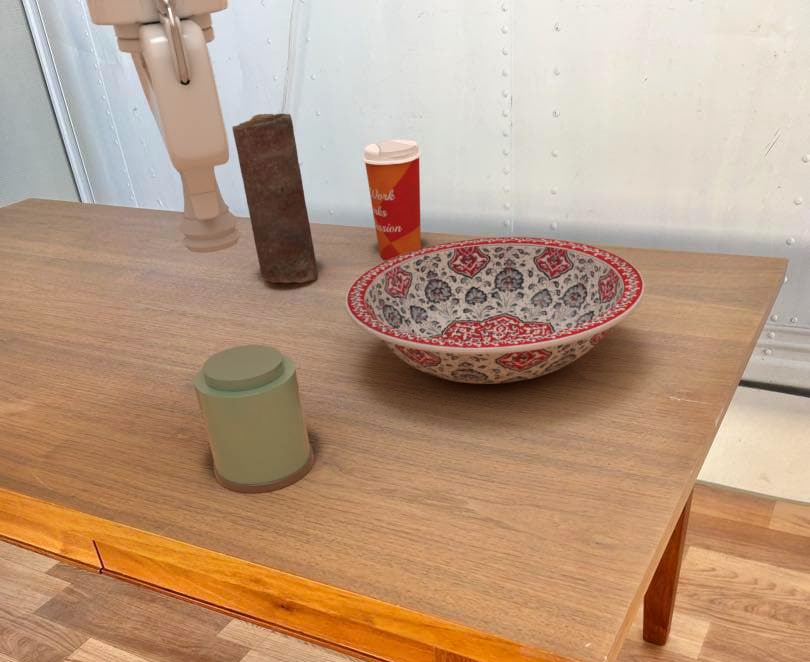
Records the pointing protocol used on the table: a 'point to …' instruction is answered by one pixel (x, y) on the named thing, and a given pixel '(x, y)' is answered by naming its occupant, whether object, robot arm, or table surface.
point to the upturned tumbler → (254, 418)
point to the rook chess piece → (208, 226)
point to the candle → (276, 198)
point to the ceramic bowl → (495, 306)
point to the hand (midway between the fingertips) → (203, 207)
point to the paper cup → (395, 195)
